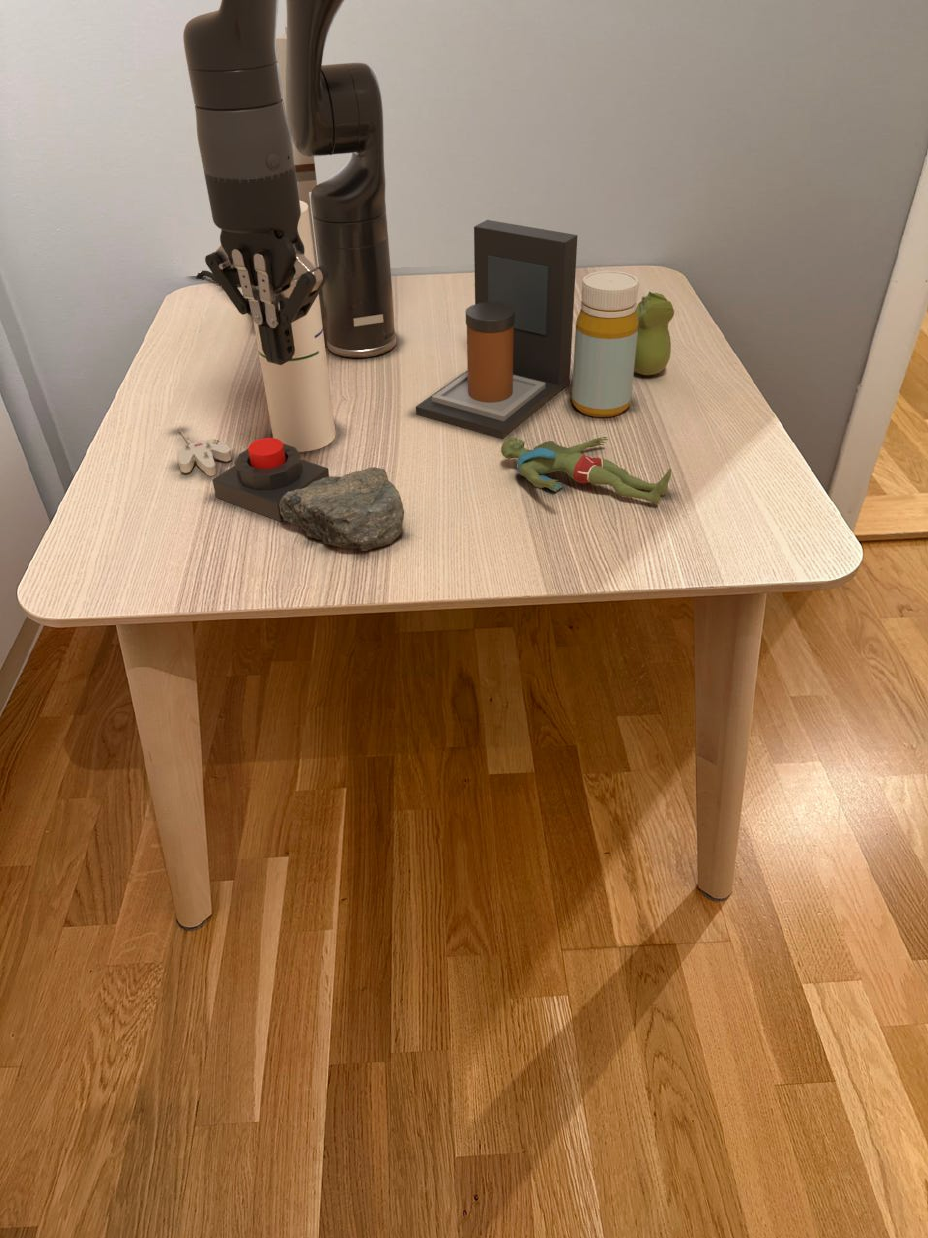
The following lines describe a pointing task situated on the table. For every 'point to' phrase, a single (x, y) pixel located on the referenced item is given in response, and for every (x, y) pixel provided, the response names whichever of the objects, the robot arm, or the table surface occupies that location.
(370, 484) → the rock
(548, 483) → the figurine
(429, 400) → the coffee maker
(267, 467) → the button
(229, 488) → the control block
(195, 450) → the game controller
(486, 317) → the orange canister with lid
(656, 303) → the pear
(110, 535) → the table surface
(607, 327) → the bottle
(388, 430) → the table surface
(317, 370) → the cylindrical container
